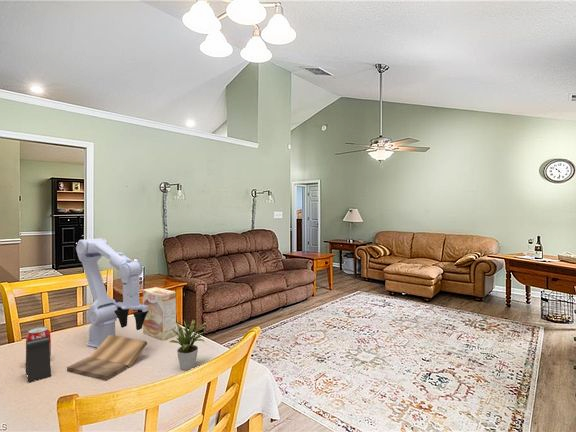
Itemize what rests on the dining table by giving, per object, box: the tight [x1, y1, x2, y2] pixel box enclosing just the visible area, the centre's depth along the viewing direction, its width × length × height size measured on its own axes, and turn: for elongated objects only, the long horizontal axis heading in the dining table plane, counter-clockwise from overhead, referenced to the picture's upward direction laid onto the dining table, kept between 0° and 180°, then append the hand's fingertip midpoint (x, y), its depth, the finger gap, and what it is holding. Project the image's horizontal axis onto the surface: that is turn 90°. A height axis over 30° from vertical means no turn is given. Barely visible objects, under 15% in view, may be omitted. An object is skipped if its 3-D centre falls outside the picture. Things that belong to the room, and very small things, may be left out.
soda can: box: [25, 326, 52, 358], centre depth 118 cm, size 7×7×12 cm
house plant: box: [169, 319, 209, 371], centre depth 113 cm, size 14×14×16 cm
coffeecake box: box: [142, 286, 177, 341], centre depth 144 cm, size 15×7×20 cm, turn 55°
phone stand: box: [25, 337, 52, 383], centre depth 109 cm, size 9×6×12 cm, turn 43°
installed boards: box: [66, 356, 127, 381], centre depth 112 cm, size 18×8×2 cm, turn 70°
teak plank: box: [89, 335, 148, 368], centre depth 121 cm, size 18×10×2 cm, turn 70°
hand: (131, 328), depth 126 cm, fingers open, 7 cm apart
